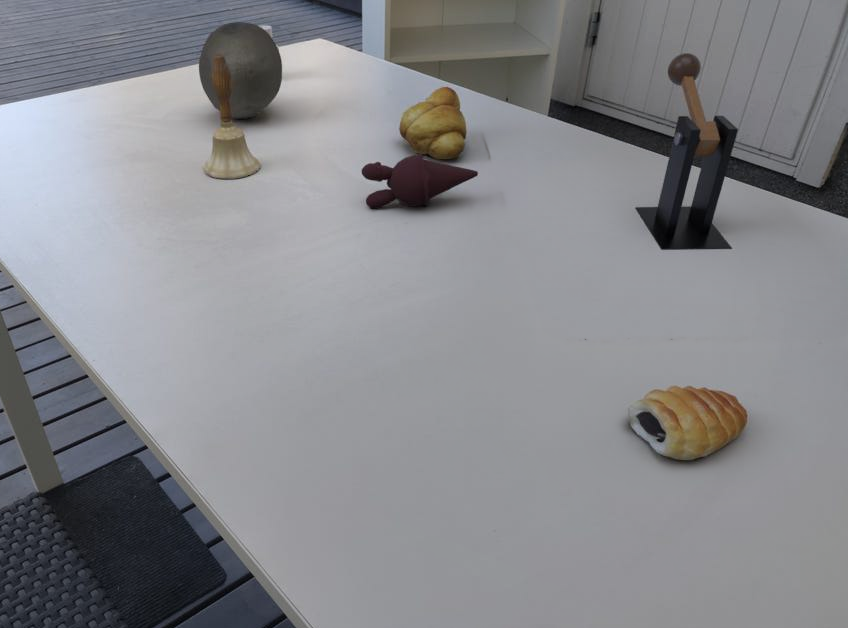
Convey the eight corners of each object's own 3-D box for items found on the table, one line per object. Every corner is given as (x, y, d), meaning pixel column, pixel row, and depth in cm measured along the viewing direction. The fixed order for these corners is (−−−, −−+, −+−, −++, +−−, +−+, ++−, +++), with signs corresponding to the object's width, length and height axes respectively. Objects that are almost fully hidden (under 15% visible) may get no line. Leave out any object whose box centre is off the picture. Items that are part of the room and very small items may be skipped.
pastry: (708, 394, 66) (719, 360, 64) (764, 444, 61) (779, 408, 59) (618, 420, 63) (626, 385, 61) (669, 473, 58) (680, 438, 56)
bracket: (633, 215, 94) (656, 106, 86) (696, 214, 94) (726, 105, 86) (659, 258, 86) (687, 141, 77) (729, 257, 85) (765, 140, 77)
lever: (661, 71, 90) (671, 46, 87) (691, 71, 90) (702, 46, 87) (684, 159, 84) (695, 136, 80) (716, 159, 84) (729, 135, 80)
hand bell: (251, 153, 114) (238, 44, 104) (267, 173, 108) (255, 58, 98) (198, 163, 111) (179, 51, 102) (211, 183, 105) (193, 67, 96)
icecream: (471, 142, 98) (359, 156, 99) (481, 148, 92) (360, 164, 92) (474, 194, 101) (365, 208, 101) (484, 204, 94) (367, 219, 95)
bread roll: (476, 162, 109) (480, 108, 104) (411, 168, 108) (412, 113, 103) (453, 132, 119) (455, 81, 115) (394, 137, 118) (394, 86, 113)
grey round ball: (189, 126, 124) (173, 31, 115) (232, 100, 135) (221, 11, 126) (263, 136, 120) (252, 38, 111) (302, 109, 130) (295, 17, 121)
